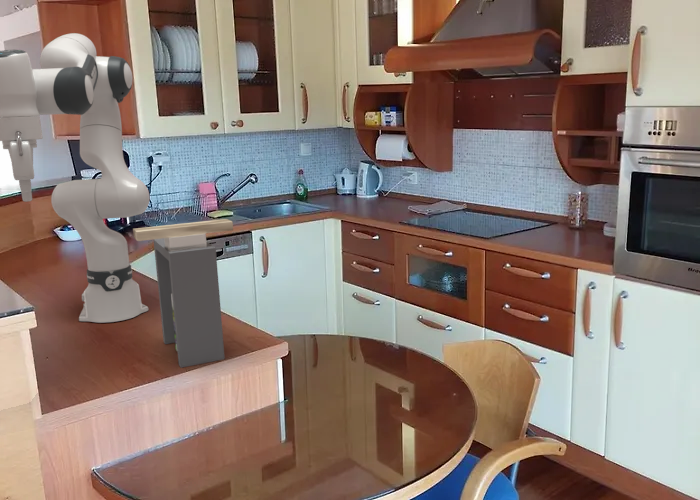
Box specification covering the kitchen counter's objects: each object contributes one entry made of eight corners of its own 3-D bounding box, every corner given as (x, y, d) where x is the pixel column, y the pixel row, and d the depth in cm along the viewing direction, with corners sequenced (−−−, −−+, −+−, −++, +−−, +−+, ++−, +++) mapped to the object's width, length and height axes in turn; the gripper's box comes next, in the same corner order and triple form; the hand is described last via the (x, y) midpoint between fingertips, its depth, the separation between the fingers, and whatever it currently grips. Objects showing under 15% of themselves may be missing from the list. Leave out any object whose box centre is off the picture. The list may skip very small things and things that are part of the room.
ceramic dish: (165, 247, 150) (163, 234, 149) (200, 242, 153) (199, 230, 153) (170, 251, 145) (169, 238, 144) (206, 247, 148) (205, 233, 147)
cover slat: (134, 237, 146) (133, 228, 146) (227, 227, 155) (226, 218, 154) (137, 241, 142) (136, 231, 141) (233, 230, 150) (232, 221, 150)
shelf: (163, 341, 165) (153, 239, 160) (203, 334, 170) (194, 234, 164) (180, 367, 148) (169, 253, 143) (224, 359, 152) (215, 247, 147)
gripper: (36, 131, 128) (45, 202, 131) (34, 130, 146) (42, 193, 149) (-1, 132, 125) (9, 205, 128) (2, 131, 143) (11, 195, 146)
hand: (27, 198), depth 139 cm, fingers open, 8 cm apart
